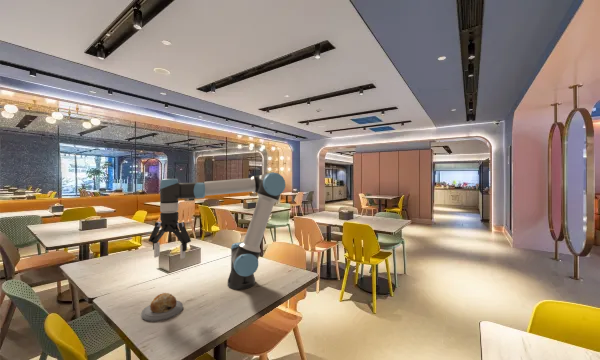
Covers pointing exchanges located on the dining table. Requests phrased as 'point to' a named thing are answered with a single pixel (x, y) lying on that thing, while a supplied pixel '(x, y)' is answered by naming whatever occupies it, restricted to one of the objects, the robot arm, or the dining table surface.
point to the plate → (153, 316)
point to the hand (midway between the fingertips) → (169, 257)
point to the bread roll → (163, 303)
